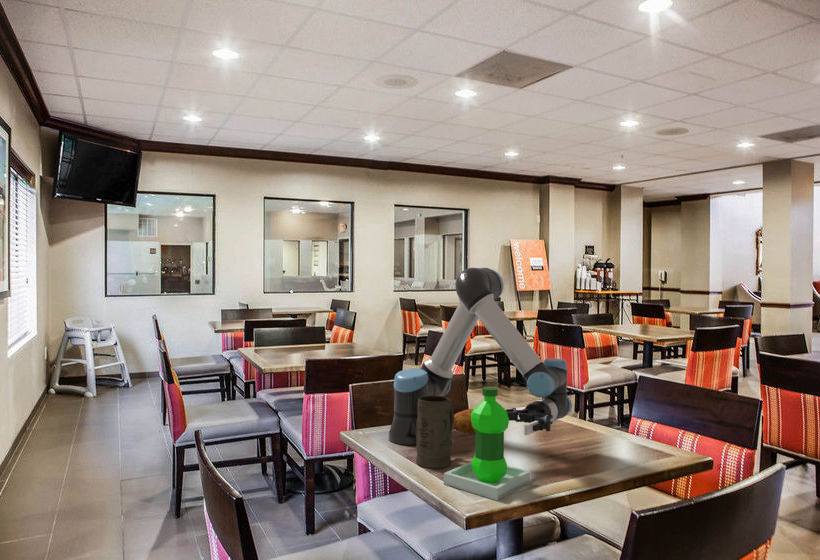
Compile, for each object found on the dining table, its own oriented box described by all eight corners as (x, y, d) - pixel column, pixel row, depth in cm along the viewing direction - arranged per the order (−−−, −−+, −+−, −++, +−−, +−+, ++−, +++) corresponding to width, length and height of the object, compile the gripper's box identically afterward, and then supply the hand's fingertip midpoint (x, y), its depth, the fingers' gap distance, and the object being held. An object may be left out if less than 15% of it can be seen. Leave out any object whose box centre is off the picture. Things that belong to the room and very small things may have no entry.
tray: (443, 484, 156) (443, 473, 156) (478, 468, 169) (478, 458, 169) (497, 500, 145) (497, 488, 145) (530, 482, 158) (530, 471, 158)
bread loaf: (496, 433, 215) (499, 411, 216) (473, 436, 204) (476, 413, 204) (465, 425, 225) (467, 404, 225) (441, 427, 213) (443, 406, 214)
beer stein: (440, 471, 166) (443, 401, 167) (408, 465, 171) (411, 397, 172) (462, 460, 179) (464, 396, 180) (431, 454, 185) (434, 392, 186)
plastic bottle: (464, 474, 161) (465, 385, 161) (500, 472, 163) (500, 384, 163) (477, 487, 151) (478, 392, 151) (514, 484, 153) (515, 391, 153)
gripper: (578, 431, 172) (544, 447, 156) (506, 417, 188) (468, 430, 172) (578, 406, 171) (544, 420, 155) (506, 394, 188) (468, 405, 172)
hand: (504, 425), depth 164 cm, fingers open, 13 cm apart
